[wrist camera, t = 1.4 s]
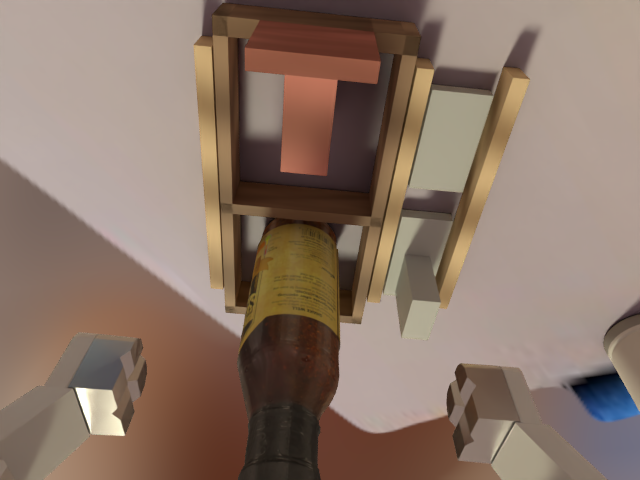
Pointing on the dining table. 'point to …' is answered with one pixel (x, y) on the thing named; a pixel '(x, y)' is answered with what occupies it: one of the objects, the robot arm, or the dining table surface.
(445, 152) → the broken grey strip
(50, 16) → the dining table surface
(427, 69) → the oak lane rails
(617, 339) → the travel mug
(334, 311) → the sauce bottle
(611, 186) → the dining table surface
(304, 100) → the wooden condiment caddy
